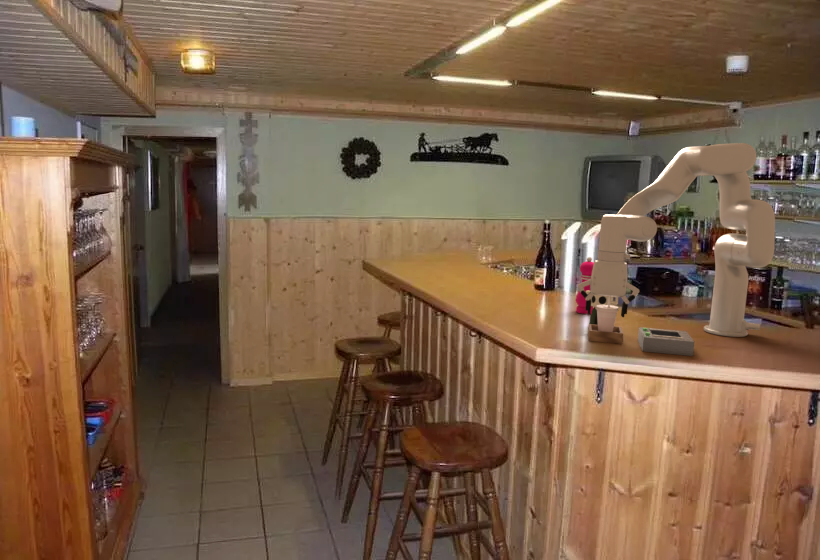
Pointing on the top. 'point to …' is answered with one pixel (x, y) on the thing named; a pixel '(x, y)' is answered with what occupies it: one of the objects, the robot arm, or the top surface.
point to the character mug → (599, 301)
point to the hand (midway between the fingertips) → (605, 314)
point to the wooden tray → (605, 334)
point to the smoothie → (606, 316)
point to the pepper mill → (585, 276)
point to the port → (665, 341)
